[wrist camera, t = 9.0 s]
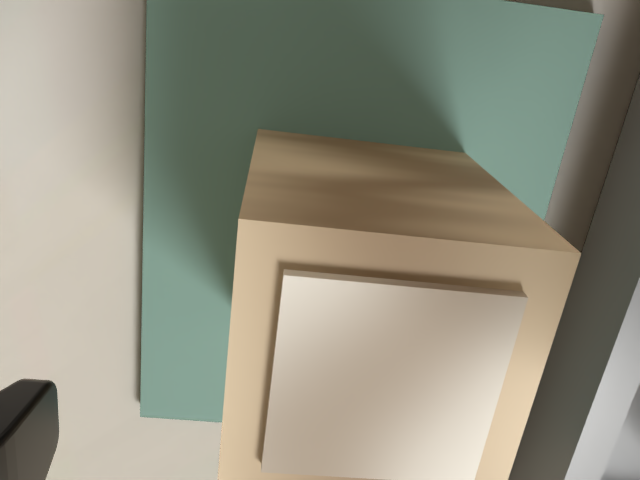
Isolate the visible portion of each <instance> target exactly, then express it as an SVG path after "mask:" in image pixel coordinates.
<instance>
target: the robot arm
mask: <svg viewBox="0 0 640 480" xmlns="http://www.w3.org/2000/svg"><path fill="white" fill-rule="evenodd" d="M58 438H59V419H58V399H57V388H56V386H55V384H54V383H53V382H52V381H50V380H37V379H21V380H19V381H17V382H15V383H13V384H11V385H10V386H8V387H6V388H4V389H3V390H1V391H0V480H45V479H46V476H47V474H48V471H49V468H50V465H51V462H52V459H53V456H54V454H55V451H56V447H57V443H58Z"/></svg>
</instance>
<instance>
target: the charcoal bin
mask: <svg viewBox="0 0 640 480" xmlns="http://www.w3.org/2000/svg"><path fill="white" fill-rule="evenodd" d="M508 480H640V75H639V78H638V81H637V84H636V87H635V90H634V93H633V96H632V99H631V103H630V106H629V109H628V112H627V115H626V118H625V121H624V124H623V127H622V130H621V133H620V136H619V140H618V143H617V146H616V149H615V152H614V155H613V158H612V161H611V164H610V167H609V170H608V173H607V176H606V180H605V183H604V186H603V189H602V192H601V195H600V198H599V201H598V204H597V207H596V210H595V213H594V216H593V220H592V223H591V226H590V229H589V232H588V235H587V238H586V241H585V244H584V247H583V250H582V253H581V257H580V260H579V263H578V266H577V269H576V272H575V275H574V278H573V281H572V284H571V287H570V290H569V293H568V297H567V300H566V303H565V306H564V309H563V312H562V315H561V318H560V321H559V324H558V327H557V330H556V333H555V337H554V340H553V343H552V346H551V349H550V352H549V355H548V358H547V361H546V364H545V367H544V370H543V373H542V377H541V380H540V383H539V386H538V389H537V392H536V395H535V398H534V401H533V404H532V407H531V410H530V414H529V417H528V420H527V423H526V426H525V429H524V432H523V435H522V438H521V441H520V444H519V447H518V450H517V454H516V457H515V460H514V463H513V466H512V469H511V472H510V475H509V478H508Z"/></svg>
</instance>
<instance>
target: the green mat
mask: <svg viewBox="0 0 640 480" xmlns="http://www.w3.org/2000/svg"><path fill="white" fill-rule="evenodd" d="M603 17H604V15H602V14H595V13H588V12H581V11H574V10H567V9H560V8H553V7H547V6H540V5H533V4H526V3H519V2H512V1H505V0H147V12H146V76H145V140H144V203H143V267H142V331H141V395H140V417H150V418H164V419H179V420H194V421H209V422H222V418H223V405H224V393H225V380H226V368H227V355H228V343H229V331H230V318H231V306H232V293H233V281H234V268H235V256H236V243H237V231H238V219H239V214H240V209H241V205H242V200H243V196H244V191H245V186H246V182H247V177H248V173H249V168H250V163H251V159H252V154H253V150H254V145H255V140H256V136H257V131H258V129H264V130H272V131H281V132H290V133H298V134H307V135H316V136H324V137H333V138H342V139H350V140H359V141H367V142H376V143H385V144H393V145H402V146H411V147H419V148H428V149H436V150H445V151H454V152H462V153H466V154H467V155H468V156H470V157H471V158H472V159H473V160H474V161H475V162H477V163H478V164H479V165H480V166H481V167H482V168H483V169H485V170H486V171H487V172H488V173H489V174H490V175H492V176H493V177H494V178H495V179H496V180H497V181H498V182H500V183H501V184H502V185H503V186H504V187H505V188H507V189H508V190H509V191H510V192H511V193H512V194H513V195H515V196H516V197H517V198H518V199H519V200H520V201H522V202H523V203H524V204H525V205H526V206H527V207H528V208H530V209H531V210H532V211H533V212H534V213H535V214H537V215H538V216H539V217H540V218H541V219H542V220H543V221H544V219H545V215H546V212H547V209H548V205H549V202H550V198H551V195H552V191H553V188H554V185H555V181H556V178H557V174H558V171H559V167H560V164H561V161H562V157H563V154H564V150H565V147H566V143H567V140H568V137H569V133H570V130H571V126H572V123H573V119H574V116H575V113H576V109H577V106H578V102H579V99H580V95H581V92H582V89H583V85H584V82H585V78H586V75H587V71H588V68H589V65H590V61H591V58H592V54H593V51H594V47H595V44H596V41H597V37H598V34H599V30H600V27H601V23H602V20H603Z"/></svg>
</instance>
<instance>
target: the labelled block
mask: <svg viewBox="0 0 640 480" xmlns="http://www.w3.org/2000/svg"><path fill="white" fill-rule="evenodd" d="M580 256H581V253H580V252H579V251H578V250H577V249H576V248H575V247H573V246H572V245H571V244H570V243H569V242H568V241H567V240H565V239H564V238H563V237H562V236H561V235H560V234H558V233H557V232H556V231H555V230H554V229H553V228H552V227H550V226H549V225H548V224H547V223H546V222H545V221H543V220H542V219H541V218H540V217H539V216H538V215H537V214H535V213H534V212H533V211H532V210H531V209H530V208H528V207H527V206H526V205H525V204H524V203H523V202H522V201H520V200H519V199H518V198H517V197H516V196H515V195H513V194H512V193H511V192H510V191H509V190H508V189H507V188H505V187H504V186H503V185H502V184H501V183H500V182H498V181H497V180H496V179H495V178H494V177H493V176H492V175H490V174H489V173H488V172H487V171H486V170H485V169H483V168H482V167H481V166H480V165H479V164H478V163H477V162H475V161H474V160H473V159H472V158H471V157H470V156H468V155H467V154H466V153H462V152H454V151H445V150H436V149H428V148H419V147H411V146H402V145H393V144H385V143H376V142H367V141H359V140H350V139H342V138H333V137H324V136H316V135H307V134H298V133H290V132H281V131H272V130H264V129H258V131H257V136H256V140H255V145H254V150H253V154H252V159H251V163H250V168H249V173H248V177H247V182H246V186H245V191H244V196H243V200H242V205H241V209H240V214H239V219H238V231H237V243H236V256H235V268H234V281H233V293H232V306H231V318H230V331H229V343H228V355H227V368H226V380H225V393H224V405H223V418H222V430H221V443H220V455H219V468H218V480H508V478H509V475H510V472H511V469H512V466H513V463H514V460H515V457H516V453H517V450H518V447H519V444H520V441H521V438H522V435H523V432H524V429H525V426H526V423H527V420H528V416H529V413H530V410H531V407H532V404H533V401H534V398H535V395H536V392H537V389H538V386H539V382H540V379H541V376H542V373H543V370H544V367H545V364H546V361H547V358H548V355H549V352H550V348H551V345H552V342H553V339H554V336H555V333H556V330H557V327H558V324H559V321H560V318H561V314H562V311H563V308H564V305H565V302H566V299H567V296H568V293H569V290H570V287H571V284H572V280H573V277H574V274H575V271H576V268H577V265H578V262H579V259H580Z"/></svg>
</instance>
